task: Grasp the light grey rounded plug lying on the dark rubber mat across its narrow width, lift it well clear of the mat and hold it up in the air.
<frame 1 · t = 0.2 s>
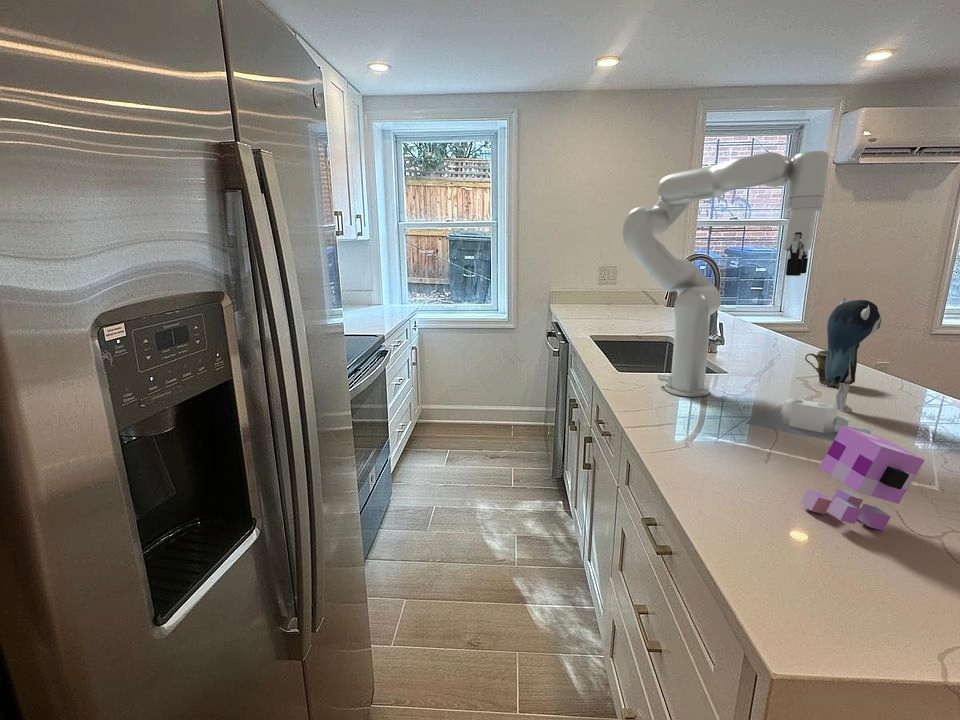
hand: (796, 274, 129), 36 cm above the counter, tool pointing down, fingers open, 9 cm apart
toy 2: (852, 520, 84), on the counter
plug: (806, 426, 123), point 1 cm above the counter, touching mat
ceramic cup: (825, 384, 160), on the counter
mat: (806, 429, 123), on the counter
toy: (839, 412, 135), on the counter
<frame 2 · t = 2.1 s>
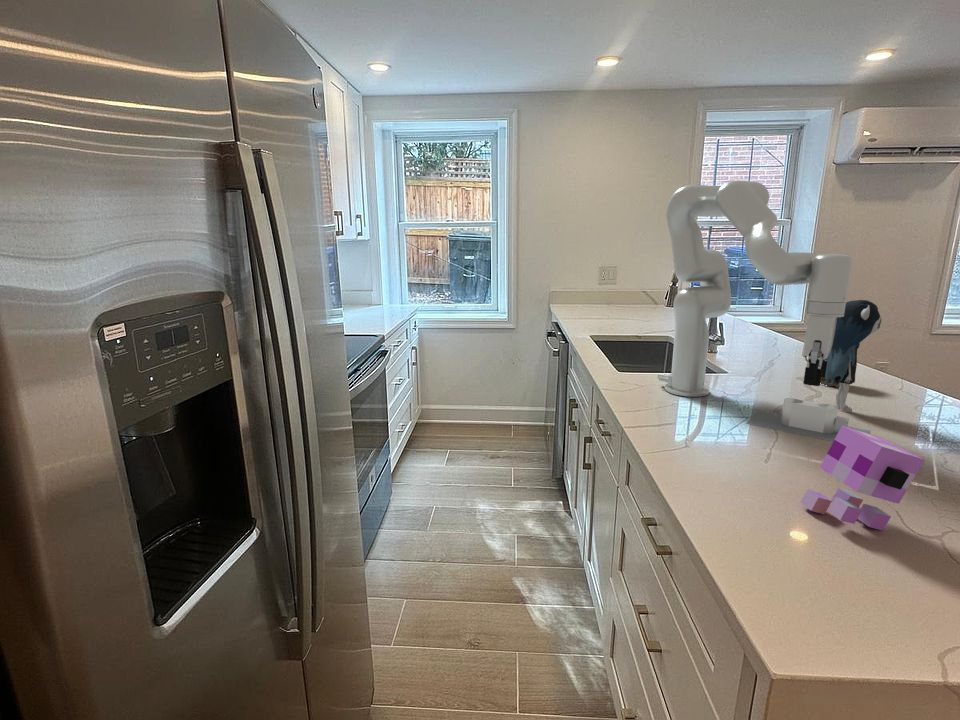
hand: (814, 380, 120), 12 cm above the counter, tool pointing down, fingers open, 9 cm apart
nothing on the counter moved.
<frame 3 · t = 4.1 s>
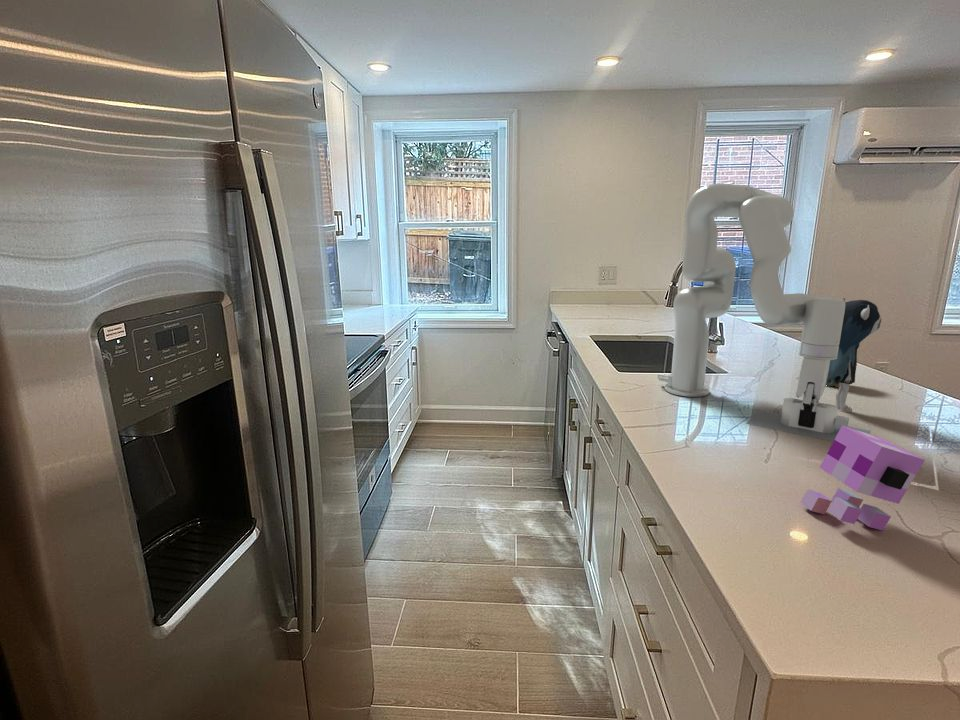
hand: (807, 423, 122), 2 cm above the counter, tool pointing down, fingers closed on plug, 4 cm apart
plug: (806, 426, 123), point 1 cm above the counter, touching gripper, mat
everything else where it was.
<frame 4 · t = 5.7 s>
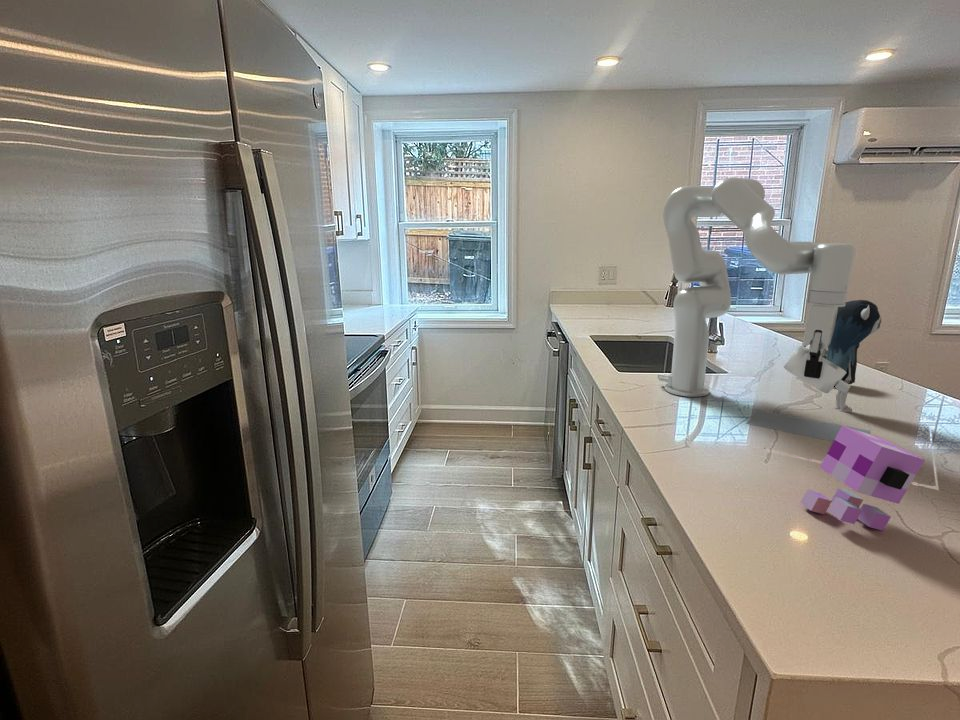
hand: (813, 374, 120), 14 cm above the counter, tool pointing down, fingers closed on plug, 3 cm apart
plug: (805, 379, 121), point 12 cm above the counter, tilted 27°, touching gripper
everything else where it was.
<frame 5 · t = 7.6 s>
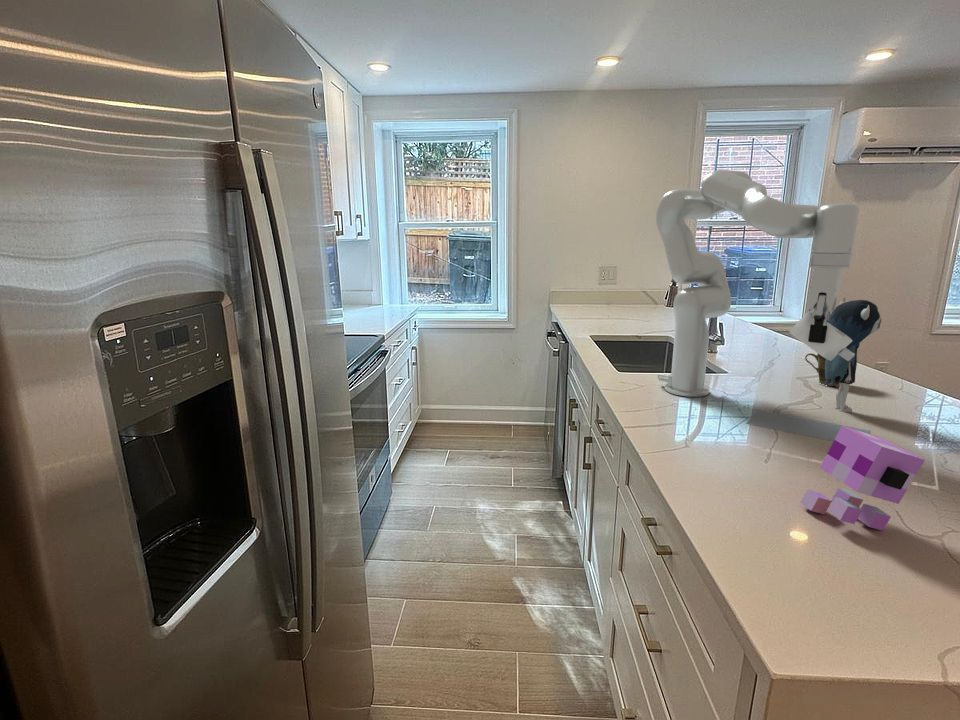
hand: (817, 340, 118), 22 cm above the counter, tool pointing down, fingers closed on plug, 4 cm apart
plug: (809, 345, 119), point 21 cm above the counter, tilted 33°, touching gripper
everything else where it was.
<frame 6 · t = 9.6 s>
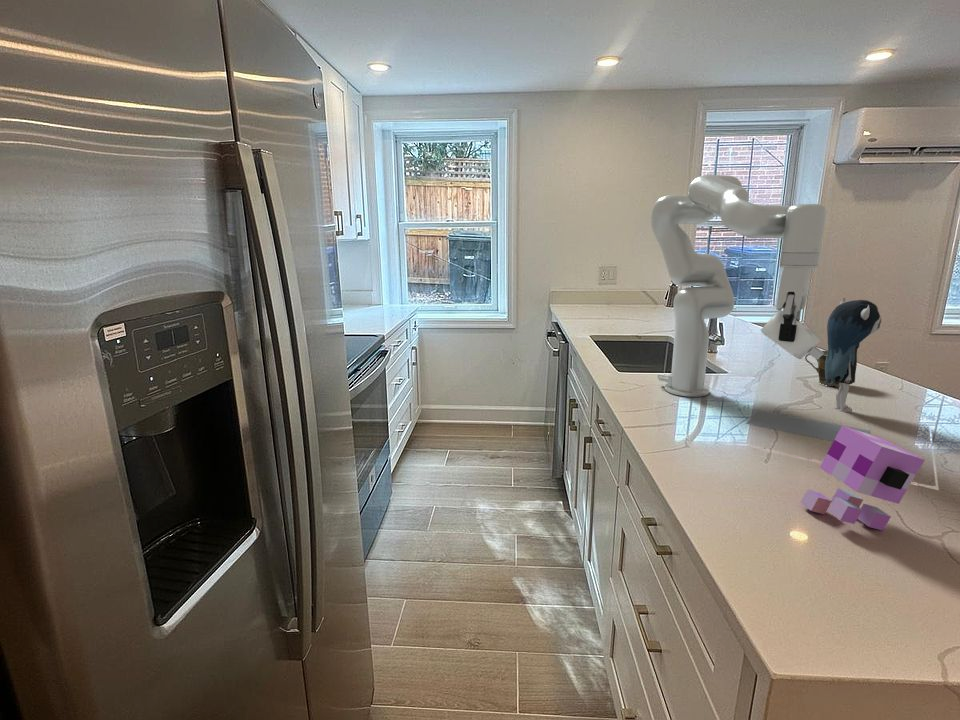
hand: (788, 338, 119), 22 cm above the counter, tool pointing down, fingers closed on plug, 4 cm apart
plug: (780, 344, 120), point 21 cm above the counter, tilted 33°, touching gripper
everything else where it was.
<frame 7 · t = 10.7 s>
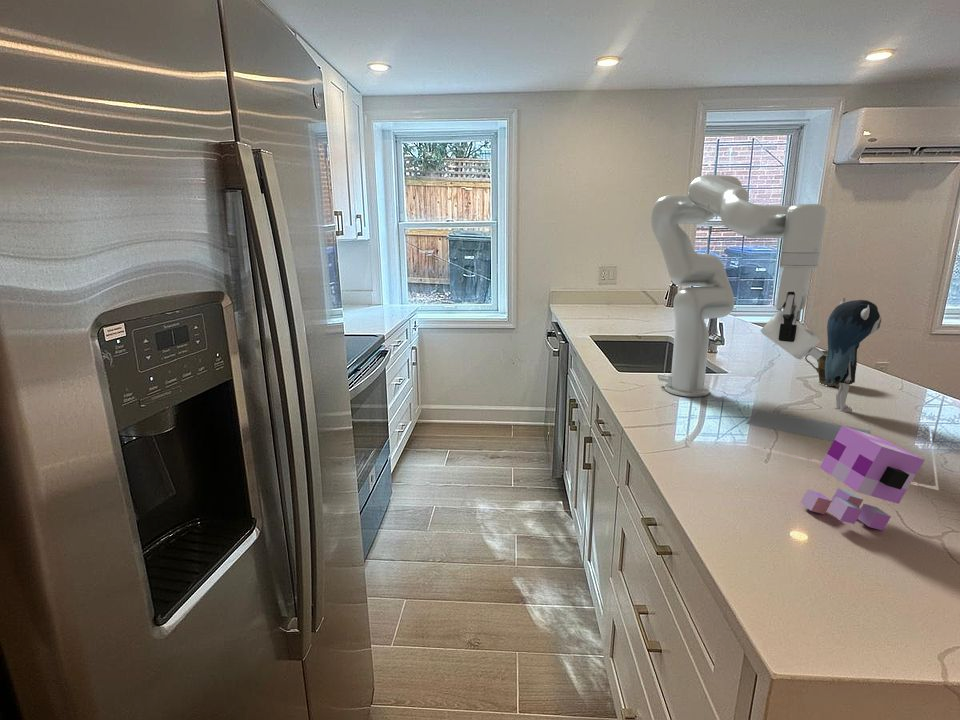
hand: (788, 338, 119), 22 cm above the counter, tool pointing down, fingers closed on plug, 4 cm apart
plug: (780, 344, 120), point 21 cm above the counter, tilted 33°, touching gripper
everything else where it was.
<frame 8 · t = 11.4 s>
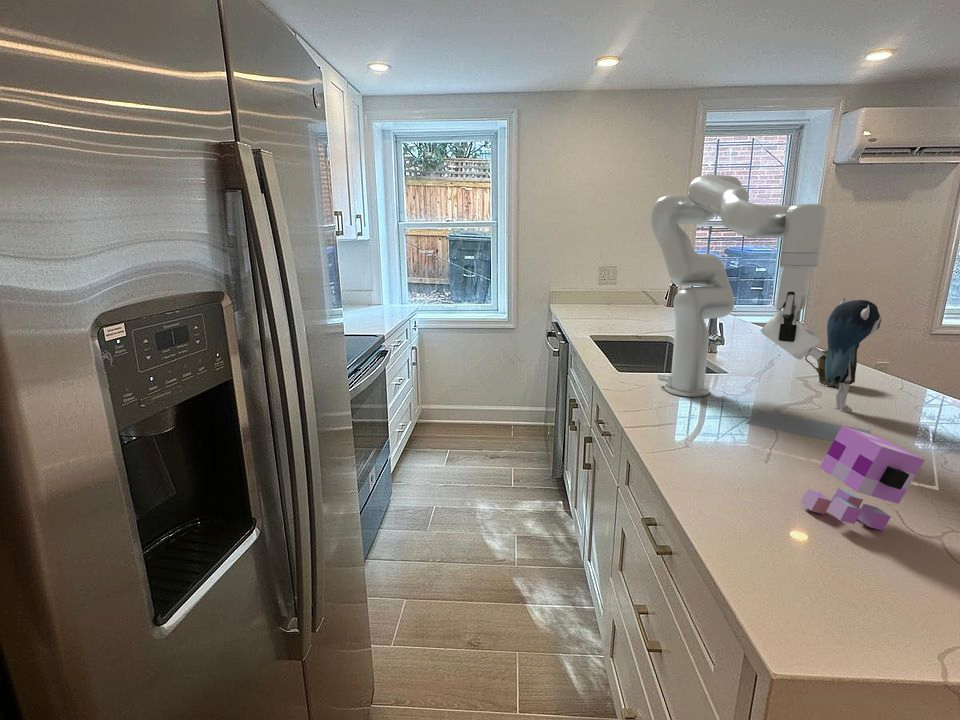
hand: (788, 338, 119), 22 cm above the counter, tool pointing down, fingers closed on plug, 4 cm apart
plug: (780, 344, 120), point 21 cm above the counter, tilted 33°, touching gripper
everything else where it was.
at the end: the gripper is holding plug; plug point 20.7 cm above the counter; plug touching gripper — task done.
